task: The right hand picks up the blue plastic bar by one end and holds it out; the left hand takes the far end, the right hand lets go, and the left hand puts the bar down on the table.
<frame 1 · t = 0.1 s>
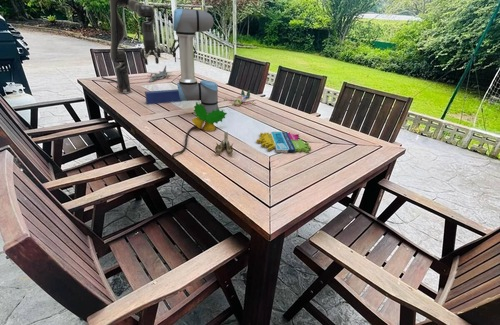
left hand: (151, 64, 186), 29 cm above the table, tool pointing down, fingers open, 8 cm apart
right hand: (184, 61, 211), 28 cm above the table, tool pointing down, fingers open, 13 cm apart
airplane: (160, 78, 276), on the table
bar: (164, 101, 207), on the table
toy: (241, 101, 221), on the table
ornament: (209, 128, 165), on the table
jawbone: (224, 151, 138), on the table
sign: (281, 143, 152), on the table
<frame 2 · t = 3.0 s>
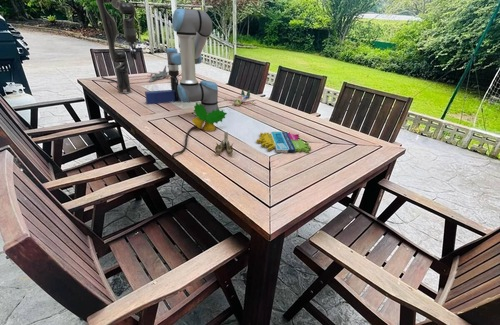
left hand: (134, 58, 198), 30 cm above the table, tool pointing down, fingers open, 8 cm apart
right hand: (175, 99, 211), 1 cm above the table, tool pointing down, fingers closed on bar, 5 cm apart
bar: (164, 101, 207), on the table, touching right hand
everything else where it was.
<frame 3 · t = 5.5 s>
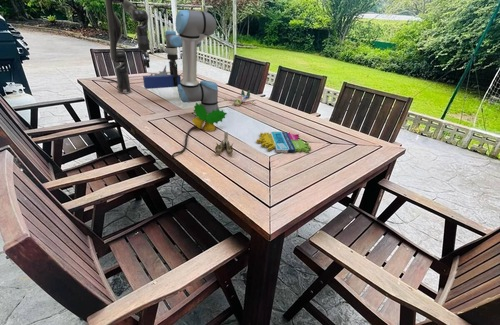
left hand: (146, 66, 191), 26 cm above the table, tool pointing down, fingers open, 8 cm apart
right hand: (174, 85, 206), 12 cm above the table, tool pointing down, fingers closed on bar, 5 cm apart
bar: (163, 86, 202), point 12 cm above the table, touching right hand
everything else where it was.
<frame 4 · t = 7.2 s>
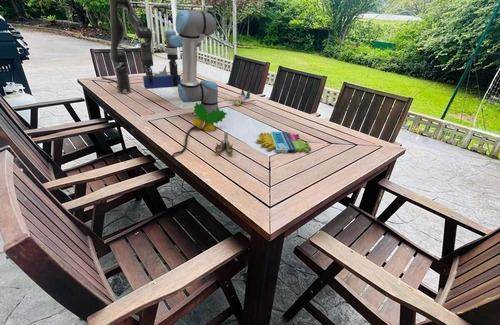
left hand: (150, 82, 196), 15 cm above the table, tool pointing down, fingers closed on bar, 5 cm apart
right hand: (174, 85, 206), 12 cm above the table, tool pointing down, fingers closed on bar, 5 cm apart
bar: (163, 86, 202), point 12 cm above the table, touching right hand, left hand
everything else where it was.
when the right hand's fingers open (12 cm above the table, at t = 8.1 s): bar stays where it is, held by the left hand.
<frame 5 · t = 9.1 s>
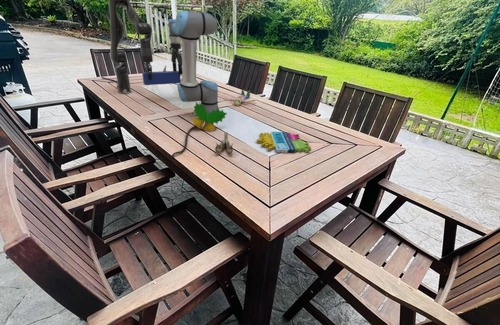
left hand: (149, 78, 194), 18 cm above the table, tool pointing down, fingers closed on bar, 5 cm apart
right hand: (177, 73, 202), 22 cm above the table, tool pointing down, fingers open, 13 cm apart
bar: (162, 83, 201), point 14 cm above the table, touching left hand
everything else where it was.
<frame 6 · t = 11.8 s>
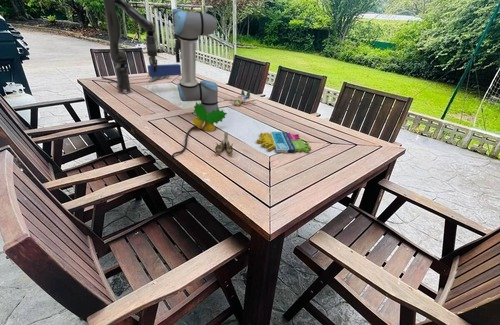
left hand: (154, 71, 218), 18 cm above the table, tool pointing down, fingers closed on bar, 5 cm apart
right hand: (180, 64, 201), 28 cm above the table, tool pointing down, fingers open, 13 cm apart
bar: (165, 75, 225), point 14 cm above the table, touching left hand
everything else where it was.
when the left hand's fingers open (5 cm above the table, at t = 16.2 s): bar stays where it is, on the table.
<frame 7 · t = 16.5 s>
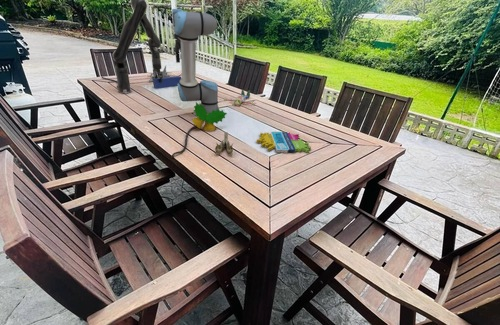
left hand: (158, 81, 242), 5 cm above the table, tool pointing down, fingers open, 7 cm apart
right hand: (180, 64, 201), 28 cm above the table, tool pointing down, fingers open, 13 cm apart
bar: (168, 86, 250), on the table
everything else where it was.
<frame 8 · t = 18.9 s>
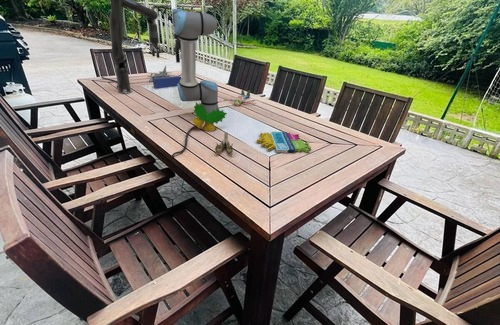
left hand: (155, 57, 231), 27 cm above the table, tool pointing down, fingers open, 8 cm apart
right hand: (180, 64, 201), 28 cm above the table, tool pointing down, fingers open, 13 cm apart
nothing on the table moved.
at the end: bar inside the target area (9.1 cm from its centre), on the table; the left hand is holding nothing; the right hand is holding nothing; bar at rest at the end (0.0 cm/s) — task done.
